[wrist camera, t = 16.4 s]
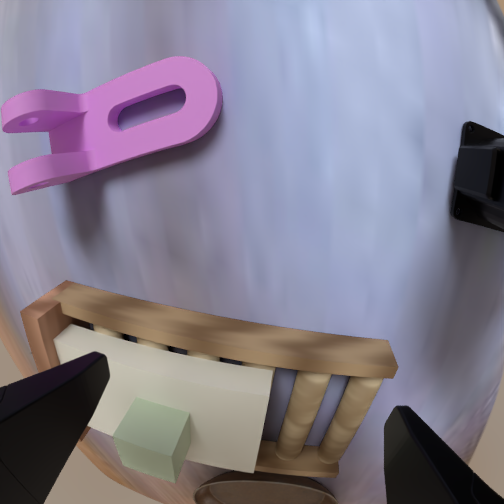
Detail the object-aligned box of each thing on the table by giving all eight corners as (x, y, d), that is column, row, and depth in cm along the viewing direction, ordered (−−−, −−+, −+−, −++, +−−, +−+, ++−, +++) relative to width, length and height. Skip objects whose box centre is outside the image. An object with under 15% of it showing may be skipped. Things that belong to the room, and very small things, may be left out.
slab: (272, 370, 19) (269, 396, 17) (257, 451, 22) (253, 473, 20) (71, 323, 21) (53, 339, 18) (94, 407, 24) (83, 423, 22)
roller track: (390, 340, 20) (412, 396, 14) (336, 452, 25) (338, 501, 19) (66, 280, 22) (20, 311, 17) (92, 398, 27) (65, 433, 22)
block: (189, 412, 18) (171, 456, 15) (190, 443, 20) (175, 483, 16) (136, 396, 19) (112, 435, 15) (142, 429, 20) (123, 465, 16)
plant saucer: (353, 503, 29) (354, 520, 26) (240, 517, 34) (237, 532, 31) (309, 446, 25) (309, 470, 22) (171, 464, 30) (163, 482, 27)
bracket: (69, 182, 20) (1, 198, 13) (58, 115, 18) (-9, 114, 12) (230, 133, 17) (193, 122, 11) (214, 52, 16) (173, 7, 9)
